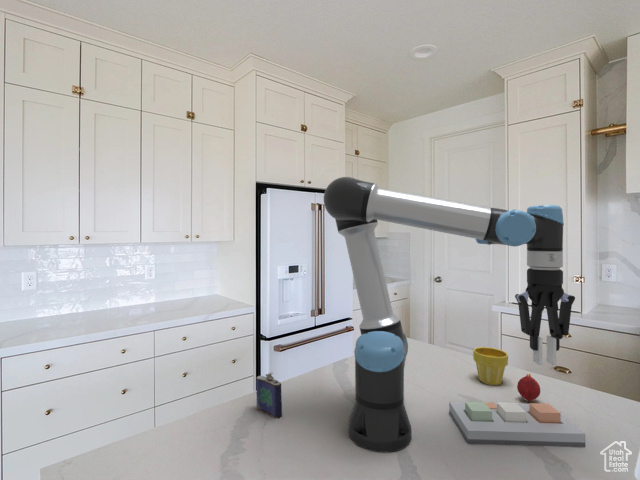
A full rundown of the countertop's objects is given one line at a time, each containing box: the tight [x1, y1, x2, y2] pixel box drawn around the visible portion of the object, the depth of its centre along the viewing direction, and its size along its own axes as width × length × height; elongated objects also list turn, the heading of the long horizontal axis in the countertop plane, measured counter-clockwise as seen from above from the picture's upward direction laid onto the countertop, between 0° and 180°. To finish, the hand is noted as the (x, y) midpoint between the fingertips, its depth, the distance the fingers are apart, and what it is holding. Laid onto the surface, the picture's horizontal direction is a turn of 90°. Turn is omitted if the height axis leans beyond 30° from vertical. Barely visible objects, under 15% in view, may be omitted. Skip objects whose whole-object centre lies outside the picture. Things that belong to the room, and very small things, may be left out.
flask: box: [255, 372, 283, 419], centre depth 96 cm, size 9×3×11 cm, turn 50°
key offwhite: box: [496, 402, 526, 423], centre depth 87 cm, size 5×5×3 cm
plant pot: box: [472, 346, 509, 386], centre depth 115 cm, size 10×10×10 cm
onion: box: [516, 372, 541, 402], centre depth 101 cm, size 6×6×8 cm
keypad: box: [448, 401, 586, 448], centre depth 87 cm, size 26×14×3 cm, turn 87°
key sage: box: [464, 401, 492, 422], centre depth 87 cm, size 5×5×3 cm
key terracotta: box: [528, 402, 562, 424], centre depth 86 cm, size 5×5×3 cm
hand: (544, 362), depth 86 cm, fingers open, 3 cm apart
